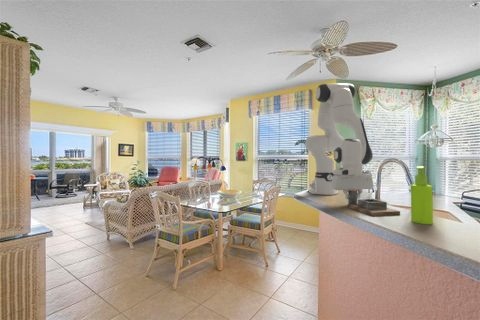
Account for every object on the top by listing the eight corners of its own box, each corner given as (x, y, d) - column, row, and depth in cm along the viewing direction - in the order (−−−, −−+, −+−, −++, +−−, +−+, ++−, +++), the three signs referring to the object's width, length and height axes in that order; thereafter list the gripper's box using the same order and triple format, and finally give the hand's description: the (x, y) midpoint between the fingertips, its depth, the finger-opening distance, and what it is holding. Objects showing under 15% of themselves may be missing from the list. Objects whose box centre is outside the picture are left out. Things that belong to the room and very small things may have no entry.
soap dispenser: (409, 222, 75) (409, 166, 76) (412, 218, 80) (411, 165, 80) (432, 226, 71) (431, 166, 71) (433, 221, 76) (432, 165, 76)
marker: (346, 203, 108) (346, 188, 108) (353, 203, 108) (353, 187, 108) (351, 205, 104) (351, 189, 104) (359, 205, 104) (358, 188, 104)
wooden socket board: (347, 207, 100) (347, 197, 100) (371, 206, 102) (371, 197, 102) (372, 216, 85) (372, 204, 85) (400, 214, 86) (399, 203, 86)
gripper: (367, 170, 110) (367, 196, 111) (329, 171, 108) (330, 198, 108) (376, 170, 104) (376, 199, 104) (336, 171, 102) (337, 200, 102)
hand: (352, 198), depth 106 cm, fingers closed on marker, 4 cm apart
